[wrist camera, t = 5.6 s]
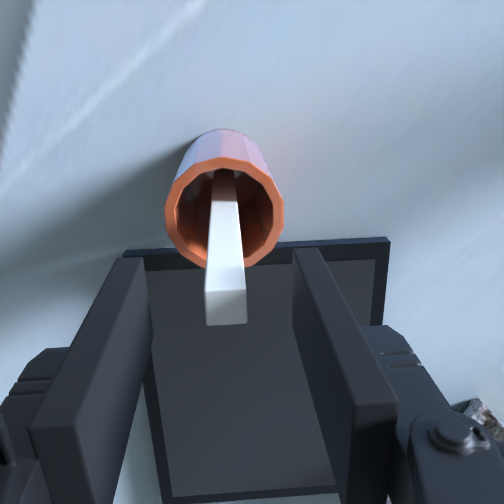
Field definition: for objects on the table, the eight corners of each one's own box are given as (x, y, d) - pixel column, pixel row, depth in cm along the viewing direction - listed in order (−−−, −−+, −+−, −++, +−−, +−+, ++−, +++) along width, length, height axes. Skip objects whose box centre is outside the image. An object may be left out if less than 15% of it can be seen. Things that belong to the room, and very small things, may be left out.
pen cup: (185, 215, 29) (171, 275, 21) (177, 130, 27) (158, 159, 19) (266, 211, 29) (284, 269, 21) (265, 126, 27) (284, 154, 19)
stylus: (215, 186, 27) (206, 326, 13) (213, 167, 27) (203, 290, 12) (234, 185, 27) (247, 324, 13) (233, 166, 27) (246, 287, 12)
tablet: (164, 496, 39) (162, 507, 38) (125, 250, 30) (121, 256, 29) (362, 481, 40) (366, 491, 39) (386, 236, 31) (391, 242, 30)
